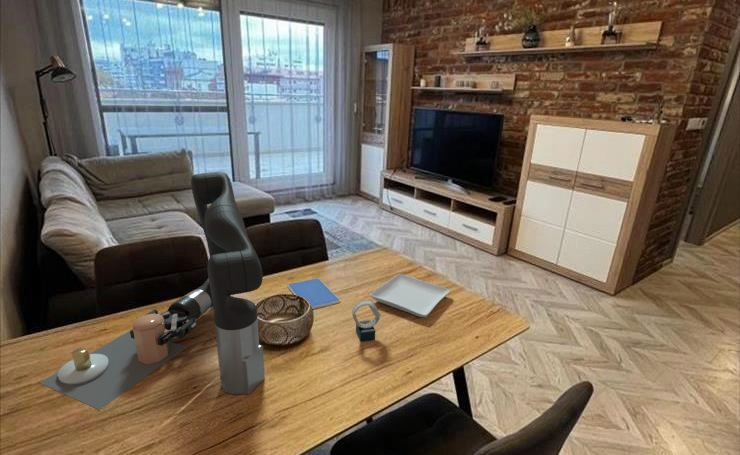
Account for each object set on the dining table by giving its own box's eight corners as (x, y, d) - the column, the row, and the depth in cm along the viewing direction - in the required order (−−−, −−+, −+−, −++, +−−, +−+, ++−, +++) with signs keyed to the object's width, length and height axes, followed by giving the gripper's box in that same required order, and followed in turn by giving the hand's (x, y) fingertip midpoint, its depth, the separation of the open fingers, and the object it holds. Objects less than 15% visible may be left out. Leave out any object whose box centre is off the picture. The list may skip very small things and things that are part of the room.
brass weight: (94, 364, 96) (91, 349, 95) (81, 372, 93) (77, 357, 92) (85, 361, 97) (82, 346, 96) (72, 369, 94) (68, 353, 93)
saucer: (118, 363, 98) (117, 360, 98) (77, 389, 90) (76, 386, 89) (90, 353, 102) (90, 349, 101) (48, 377, 93) (47, 373, 93)
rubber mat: (187, 348, 106) (186, 347, 106) (99, 412, 85) (99, 409, 84) (133, 330, 112) (132, 328, 112) (39, 384, 91) (39, 382, 91)
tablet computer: (286, 286, 142) (286, 283, 141) (318, 280, 148) (318, 276, 147) (306, 312, 126) (306, 309, 126) (341, 303, 132) (341, 300, 132)
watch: (381, 339, 113) (383, 305, 110) (354, 342, 111) (355, 308, 108) (376, 328, 118) (377, 295, 115) (349, 331, 116) (350, 298, 113)
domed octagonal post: (173, 351, 104) (168, 317, 100) (152, 366, 98) (146, 331, 95) (155, 344, 106) (149, 311, 103) (133, 359, 100) (126, 324, 97)
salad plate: (450, 297, 139) (451, 288, 138) (425, 324, 122) (426, 314, 121) (398, 280, 150) (398, 272, 148) (367, 303, 132) (368, 294, 131)
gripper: (168, 291, 114) (120, 320, 99) (210, 300, 110) (166, 331, 95) (171, 314, 116) (124, 345, 101) (213, 323, 112) (170, 357, 98)
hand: (145, 338), depth 98 cm, fingers open, 8 cm apart
